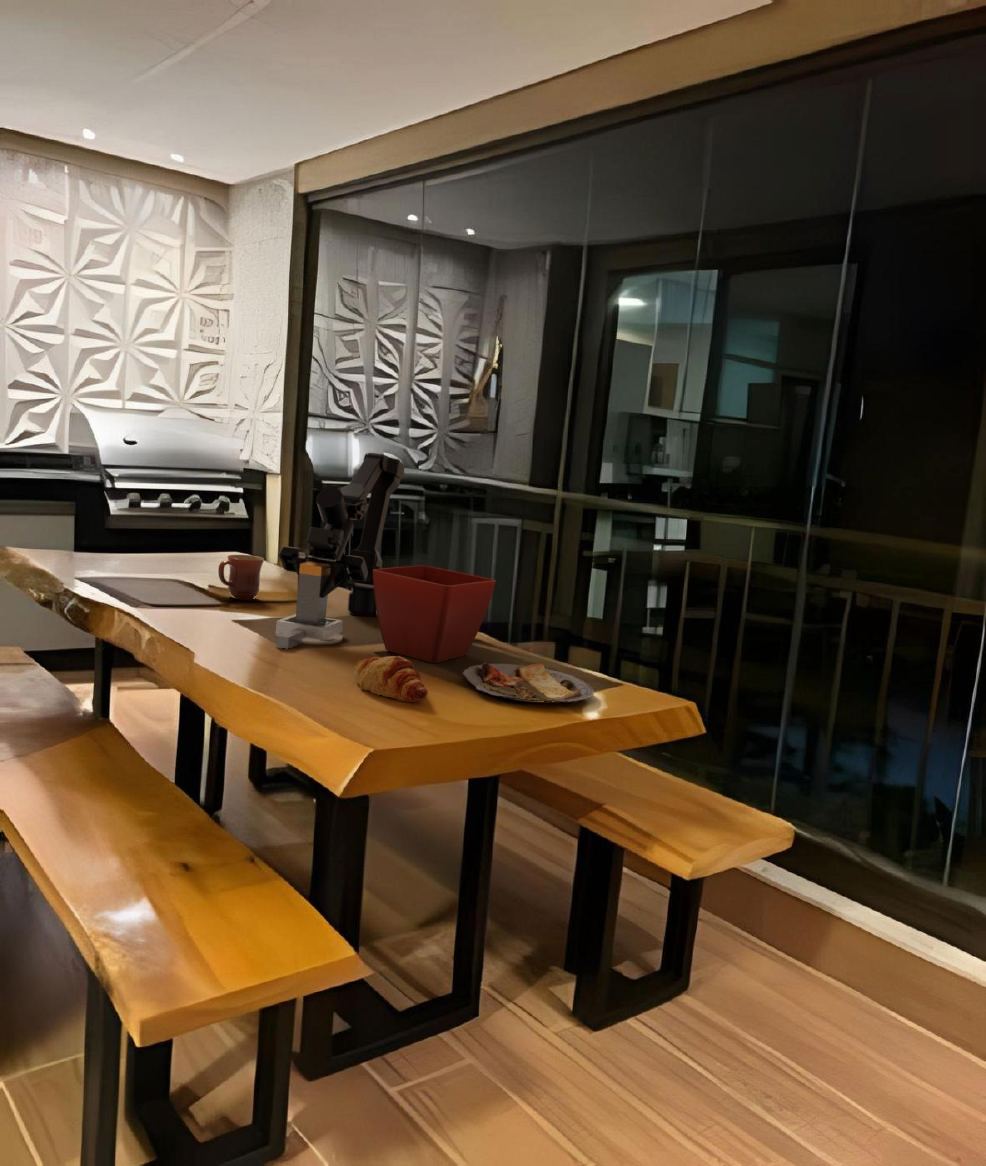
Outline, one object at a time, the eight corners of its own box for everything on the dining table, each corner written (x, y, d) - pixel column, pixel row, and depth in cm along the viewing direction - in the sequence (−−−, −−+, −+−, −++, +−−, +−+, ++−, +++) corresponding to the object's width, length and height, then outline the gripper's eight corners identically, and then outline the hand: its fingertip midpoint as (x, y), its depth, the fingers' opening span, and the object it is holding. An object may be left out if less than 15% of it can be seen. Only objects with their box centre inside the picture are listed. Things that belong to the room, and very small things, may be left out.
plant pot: (489, 657, 206) (498, 579, 204) (439, 670, 190) (448, 585, 187) (416, 639, 216) (423, 564, 213) (362, 650, 199) (370, 569, 197)
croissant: (341, 695, 178) (327, 658, 174) (384, 667, 183) (370, 631, 179) (409, 726, 162) (394, 687, 158) (454, 694, 167) (440, 656, 164)
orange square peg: (304, 621, 208) (309, 561, 206) (325, 624, 207) (330, 564, 205) (294, 624, 204) (299, 563, 202) (316, 628, 203) (321, 566, 201)
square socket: (292, 626, 214) (293, 610, 214) (351, 636, 211) (353, 620, 211) (249, 643, 194) (250, 626, 194) (315, 653, 191) (316, 636, 191)
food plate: (449, 670, 190) (451, 652, 190) (559, 675, 198) (561, 658, 197) (486, 711, 167) (489, 691, 166) (609, 715, 174) (612, 696, 174)
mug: (245, 594, 246) (248, 554, 245) (268, 600, 241) (271, 559, 239) (206, 597, 236) (209, 555, 235) (228, 603, 231) (232, 561, 230)
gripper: (285, 508, 208) (258, 564, 199) (368, 519, 204) (344, 577, 195) (298, 542, 217) (272, 597, 208) (377, 553, 213) (355, 610, 204)
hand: (310, 594), depth 203 cm, fingers closed on orange square peg, 5 cm apart
